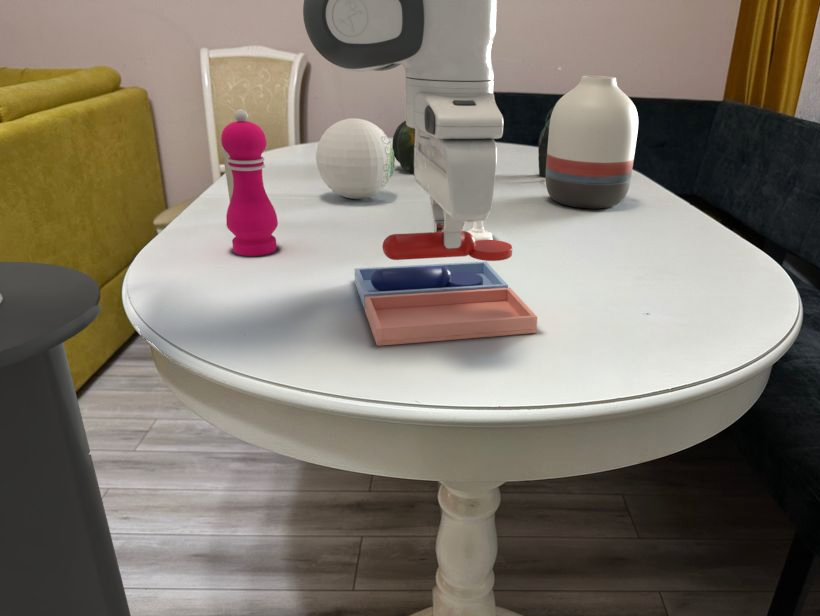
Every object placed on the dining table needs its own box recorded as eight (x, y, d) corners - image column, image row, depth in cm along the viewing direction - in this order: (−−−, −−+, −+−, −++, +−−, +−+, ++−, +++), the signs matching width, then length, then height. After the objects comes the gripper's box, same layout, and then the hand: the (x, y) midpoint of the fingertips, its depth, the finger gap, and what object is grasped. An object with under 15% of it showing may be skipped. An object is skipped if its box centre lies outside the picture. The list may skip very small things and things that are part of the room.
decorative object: (388, 209, 126) (386, 125, 120) (309, 205, 127) (303, 121, 121) (400, 191, 140) (399, 115, 133) (329, 188, 141) (325, 112, 134)
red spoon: (386, 267, 71) (385, 241, 70) (379, 253, 76) (378, 228, 74) (517, 259, 75) (519, 235, 74) (504, 246, 79) (505, 223, 78)
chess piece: (484, 244, 108) (486, 181, 103) (457, 239, 110) (459, 177, 105) (497, 237, 112) (501, 176, 107) (471, 232, 114) (474, 172, 109)
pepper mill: (269, 240, 106) (256, 105, 97) (287, 252, 100) (276, 111, 92) (223, 247, 102) (205, 107, 93) (239, 260, 96) (222, 113, 88)
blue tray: (364, 309, 81) (363, 294, 80) (354, 282, 90) (354, 268, 89) (507, 299, 86) (508, 285, 85) (485, 275, 94) (486, 261, 93)
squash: (371, 147, 156) (412, 98, 148) (397, 141, 169) (436, 96, 162) (413, 193, 156) (456, 147, 149) (436, 184, 170) (476, 141, 162)
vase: (616, 216, 127) (634, 81, 117) (531, 205, 133) (541, 76, 123) (635, 199, 141) (652, 77, 131) (557, 189, 147) (568, 72, 137)
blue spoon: (373, 297, 84) (373, 276, 82) (368, 284, 88) (367, 263, 87) (487, 290, 87) (488, 270, 86) (476, 277, 92) (477, 258, 90)
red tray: (376, 346, 72) (376, 329, 71) (365, 312, 81) (364, 296, 80) (536, 333, 77) (537, 316, 76) (509, 302, 85) (510, 287, 84)
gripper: (400, 98, 77) (401, 218, 83) (441, 121, 59) (439, 272, 65) (454, 99, 78) (451, 216, 84) (510, 121, 61) (502, 268, 66)
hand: (446, 241), depth 74 cm, fingers closed on red spoon, 3 cm apart
